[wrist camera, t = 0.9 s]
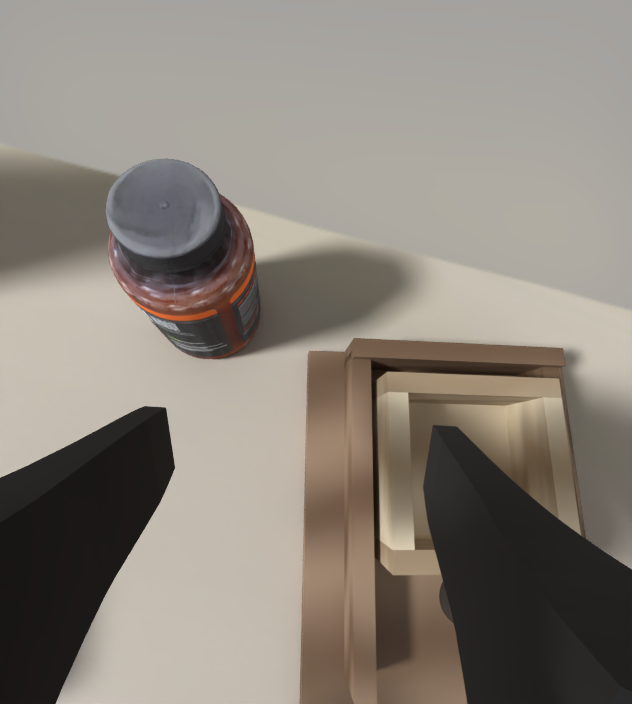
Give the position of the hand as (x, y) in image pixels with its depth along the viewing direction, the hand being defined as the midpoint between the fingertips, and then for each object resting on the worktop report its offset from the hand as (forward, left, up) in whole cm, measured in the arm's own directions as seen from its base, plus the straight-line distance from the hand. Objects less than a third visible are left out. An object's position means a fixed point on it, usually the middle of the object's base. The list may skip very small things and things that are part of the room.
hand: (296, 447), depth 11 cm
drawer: (-2, -9, -12) cm, 15 cm away
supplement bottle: (+8, +5, -13) cm, 16 cm away
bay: (-4, -9, -13) cm, 16 cm away
